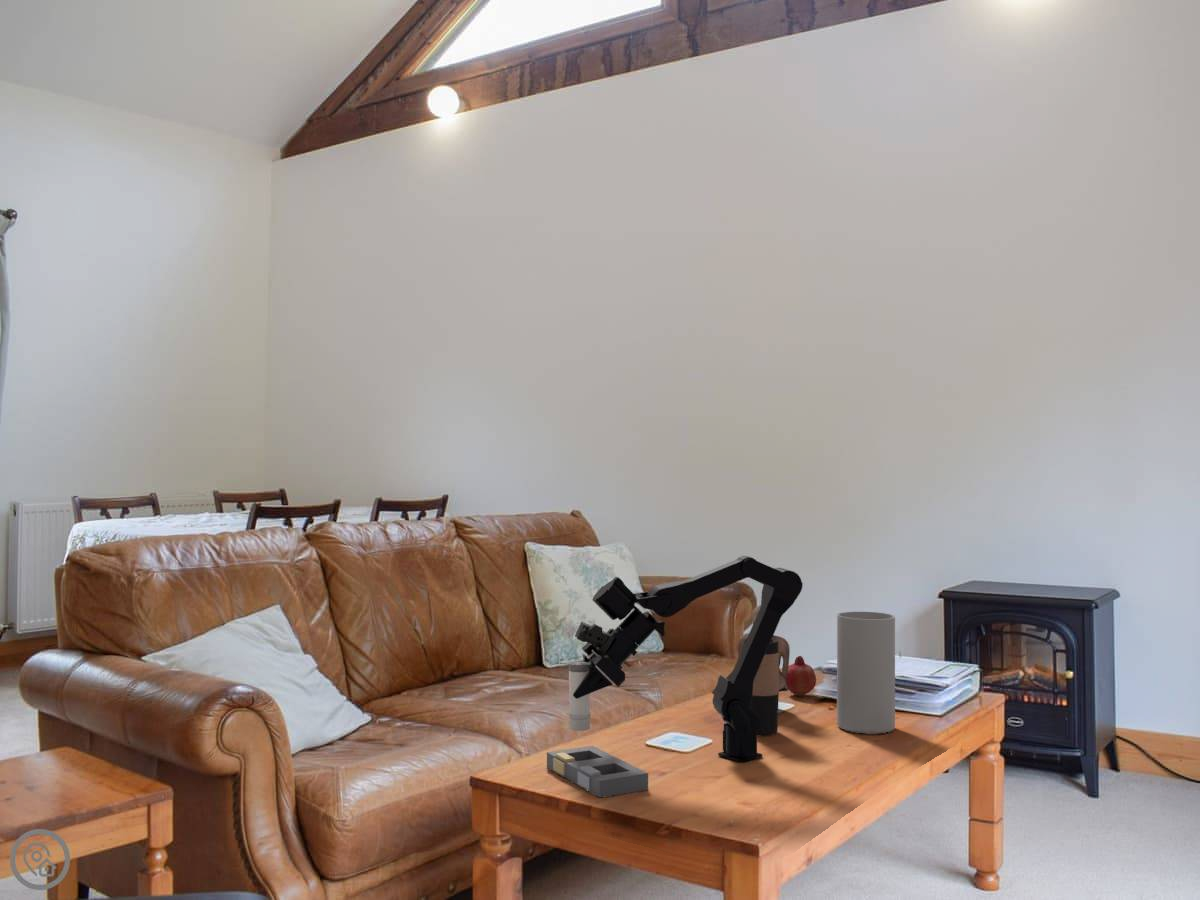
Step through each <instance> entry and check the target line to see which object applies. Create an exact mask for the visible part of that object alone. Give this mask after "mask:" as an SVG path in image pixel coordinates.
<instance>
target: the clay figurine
mask: <svg viewBox="0 0 1200 900" xmlns="http://www.w3.org/2000/svg"><path fill="white" fill-rule="evenodd" d="M760 607H761V604H759V605H757V606H756V607H755V608H754V609H752V612H751V620H752V622H751V623H752V625H753V624H754V621H755V619H756V617H757V615H758V612H759V610H760ZM749 633H750V632H748V633H744V634H743V635H741V636H740V638H739V639H738V644H737V650H738V651H737V652H738V653H737V654H738V657H739V656H740V654H741V651H742V649H743V647H744V640H745V639H747V637H748V635H749ZM772 640H773V641H774V642H777V641H778V663H779V693H781V692H787V691H789V690H788V687H787V685H786V681H785V679H784V678H786V676H787V672H788V667H789V665H790V654H791V653H790V652H791V651H790V649H791V647H790V644H789V642H788V641H787V640H786V638H785V637H782V636H778V635H775V634H774V635H773V637H772ZM781 661H782V668H781V669H780V666H781Z"/></svg>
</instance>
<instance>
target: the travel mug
mask: <svg viewBox="0 0 1200 900" xmlns="http://www.w3.org/2000/svg"><path fill="white" fill-rule="evenodd" d="M746 640H747V639H745V640H744V644H745V642H746ZM779 668H780V666H779V663H778V641H777V642H774V641H773V640H772V639H771V642H770V644H769V646H768V649H767V651H766V653H765V656H764V658H763V660H762V662H761V665H760V667H759V669H758V672H757V674H756V676H755V679H754V682H753V696H752V701H751V705H750V710H751V711H752V712H753V713H754V714H755V715H756V716H757V717H758V718H759V719H760V720H761V722H760V725H759V728H758V730H757V735H771V736H773V735H772V734H775V735H777V734H778V727H779V726H778V723H779V700H780V699H779V693H780V692H779ZM776 733H777V734H776Z"/></svg>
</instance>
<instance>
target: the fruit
mask: <svg viewBox="0 0 1200 900" xmlns="http://www.w3.org/2000/svg"><path fill="white" fill-rule="evenodd" d="M784 679H785V681H786V685H787V687H788V691H789V692H790V693H792V694H794V695H795V696H796V695H797V696H800V695H801V696H802V695H803V696H804V695H807V694H809V693H811V692H812V691H813V690H814V688H815V687H816V684H817V676H816V673H815V670H814V669H813V667H812V666H811V665H809V664H807V663H805V659H804V657H803V655H798V656H796V657H795V660H794V663H791V664H789V667H788V672H787V676H786V678H784Z"/></svg>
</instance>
